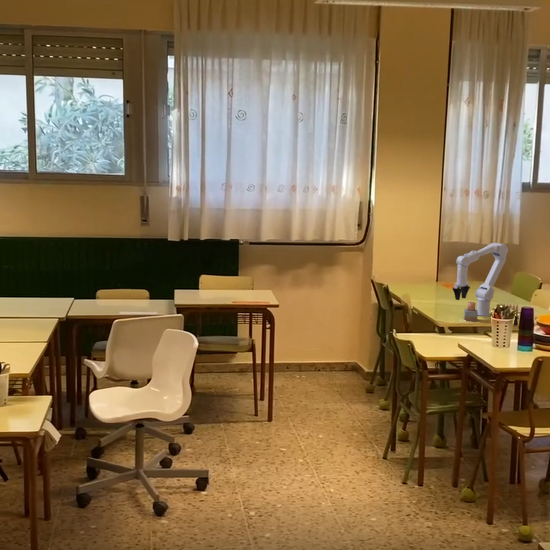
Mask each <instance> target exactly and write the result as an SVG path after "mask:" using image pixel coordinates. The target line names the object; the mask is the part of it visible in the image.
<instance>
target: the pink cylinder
mask: <svg viewBox="0 0 550 550" xmlns="http://www.w3.org/2000/svg"><path fill="white" fill-rule="evenodd" d="M476 305H477V304H476V302H474V301H473V302H472V301H468V302H467V308H466V309H467V310H468V311H475V310H476Z"/></svg>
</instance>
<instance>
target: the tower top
mask: <svg viewBox="0 0 550 550" xmlns="http://www.w3.org/2000/svg"><path fill="white" fill-rule="evenodd" d="M464 315H465V316H466V317H477V318H479V317H478V316H479V315H478V311H477V309H475V311H468V310H467V308H464V309H463V316H464Z"/></svg>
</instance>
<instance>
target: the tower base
mask: <svg viewBox="0 0 550 550" xmlns="http://www.w3.org/2000/svg"><path fill="white" fill-rule="evenodd" d="M464 320H466V321H465V322H472V321H475V322H474V323H476V322H478V317H466V316H465V315H464V314H463V321H464Z"/></svg>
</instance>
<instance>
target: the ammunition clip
mask: <svg viewBox="0 0 550 550" xmlns="http://www.w3.org/2000/svg"><path fill="white" fill-rule="evenodd" d="M500 305H502V306H503V305H505V306H508V307H510V308H511V310H514V311H515V312H516V316H515V320H514V325H513V326H518V325H519V324H518V323H519V321H518V317H519V304H516V305H515V304H513V305H512V303H510V304H509V303H507V304H505V303H503V304H502V303H500ZM500 305H499V306H500Z"/></svg>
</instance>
